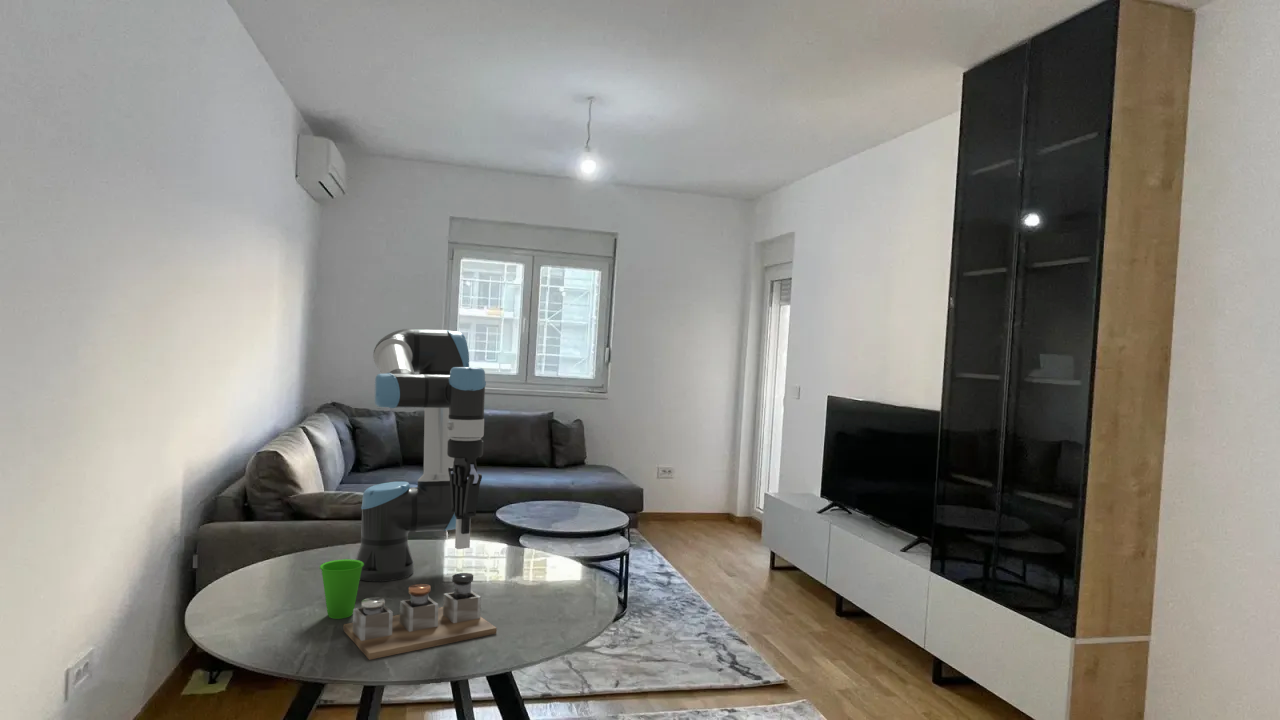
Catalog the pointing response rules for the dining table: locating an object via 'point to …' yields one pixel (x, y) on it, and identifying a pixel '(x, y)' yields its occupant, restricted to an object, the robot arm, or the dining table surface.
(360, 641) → the panel
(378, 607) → the offwhite plunger
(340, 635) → the dining table surface
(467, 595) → the black plunger
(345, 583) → the cup
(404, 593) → the dining table surface
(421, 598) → the copper domed cylinder
